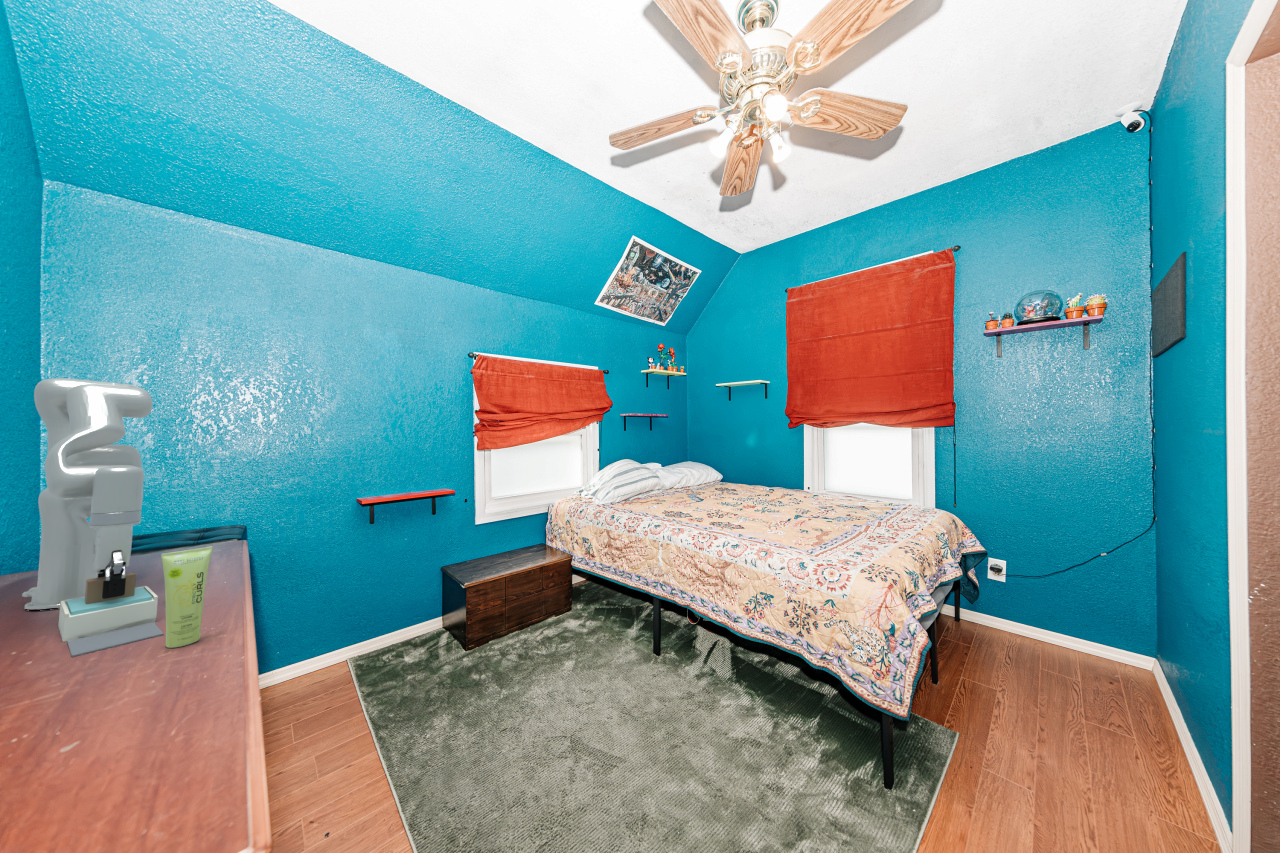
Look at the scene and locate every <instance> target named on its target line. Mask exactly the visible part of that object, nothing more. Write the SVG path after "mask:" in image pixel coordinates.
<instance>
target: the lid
mask: <svg viewBox="0 0 1280 853" xmlns="http://www.w3.org/2000/svg"><path fill="white" fill-rule="evenodd" d="M136 574H137V573H135V572H134V571H133V572H128V573H127V572H125V577H126V584H125V594H124V595H123V596H118V597H113V598H107V599H103V598H102V591H103V581H105V577H100V578H98V577H97V578H94V579H87V580H86V590H85V598H79V599H74V600H68V601H67V603H66V605H67V607H68V610H69V612H70V615H71V616H73V615H78V614H83V613H88V612H93V611H98V610H104V609H109V608H114V607H119V606H124V605H129V604H135V603H140V602H145V601H150V600H152V596H151V595H150V594H149V593H148V592H147V591H146V590H145V589H144V588H143V586H141V587H142V588H137V587H136V579H137V575H136ZM135 588H137V589H135Z"/></svg>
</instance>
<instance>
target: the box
mask: <svg viewBox="0 0 1280 853" xmlns="http://www.w3.org/2000/svg"><path fill="white" fill-rule="evenodd" d="M142 587H143V588H144V589H145V590H146V591H147V592H148V593H149V594H150V595H151V596H152V600H150V601H145V602H140V603H135V604H129V605H124V606H119V607H114V608H109V609H104V610H98V611H93V612H88V613H83V614H78V615H73V616H71V615H70V612H69V610H68V607H67V605H66V603H67V601H68V600H74V599H79V598H74V599H68V600H63V601H60V608H59V614H58V624H57V625H58V626H57V627H58V631H59V633H60V634H59V635H60V636H61V640H62V643H67V641H71V640H75V639H80V638H84V637H89V636H93V635H98V634H102V633H107V632H111V631H116V630H120V629H125V628H129V627H134V626H138V625H143V624H147V623H152V622H154V623H156V622H157V617H158V616H157V615H158V603H159V601H158V600H159V596H158V595H157V594H156V593H155V592H154V591H153V590H152V589H151V588H150V587H149V586H147V585H142V586H138V587H135V589H137V588H142ZM80 598H85V597H80Z"/></svg>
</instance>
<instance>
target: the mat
mask: <svg viewBox="0 0 1280 853" xmlns="http://www.w3.org/2000/svg"><path fill="white" fill-rule="evenodd" d="M163 635H165V634H164V632H163V631H162V629H160V627H159V626H158V625H157V624H156V622H152V623H147V624H143V625H138V626H134V627H129V628H125V629H120V630H116V631H111V632H107V633H102V634H98V635H93V636H89V637H84V638H80V639H75V640H71V641H67V642H66V643H67V647H68V650H69V652H70V653H69V654H70V656H71V657H72V658H73V657H78V656H82V655H86V654H90V653H94V652H99V651H104V650H106V649H110V648H114V647H118V646H119V647H120V646H123V645H128V644H130V643H135V641H136V642H140V641H144V639H145V640H147V639H152V638H156V637H159V636H160V637H161V636H163ZM139 640H140V641H139Z"/></svg>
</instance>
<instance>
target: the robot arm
mask: <svg viewBox="0 0 1280 853" xmlns="http://www.w3.org/2000/svg"><path fill="white" fill-rule="evenodd" d="M33 392H34V393H33V397H34V398H33V399H34V404H35V408H36V411H37V412H38V415H39V417H40V418H41V421H42V422H43V423H44V425H45V428H46V431H47V432H46V433H47V455H46V457H45V462H44V472H45V473H44V474H45V481H46V482H45V483H46V486H47V487H46V488H44V489H43V490H42V491H41V492H40V493H39V494H38V495H39V496H38V501H37V502H38V510H39V516H40V523H41V524H40V525H41V526H40V527H41V529H40V530H41V533H40V550H39V561H38V562H39V563H38V571H37V584H36V586H34V587H31V588H29V589H28V591H23V593H21V597H22V598H28V597H29V598H31V601H30V602H27V603H26V604H24V610H25V609H46V608H55V607H60V601H63V600H68V599H74V598H80V597H85V590H86V580H87V579H94V578H100V577H105V581H103V591H102V598H103V599H107V598H113V597H118V596H123V595H124V594H125V584H126V577H125V574H126V569H127V567H128V568H129V566H130V559H131V553H132V542H133V532H134V531H133V527H134V526H135V525H139V524H141V519H142V518H141V517H142V506H143V505H142V504H143V501H144V480H145V473H144V470H143V468H142V458H141V457H142V456H141V453H140V451H139V450H138V449H137V448H136V447H134V446H133V445H132V446H131V445H128V444H115V443H117V442H119V441H121V440H122V439H123V438H124V437H125V435H126V428H125V425H124V423H125V422H124V420H123V418H136V419H141V418H146V417H148V416H149V415H150V414H151V412H152V411H153V399H152V395H150V393H149V392H148V391H147V390H146V389H144V388H142V387H139V386H137V385H134V384H128V383H119V382H109V381H101V380H100V381H99V380H89V379H80V378H79V379H78V378H67V377H66V378H64V377H63V378H62V377H61V378H60V377H58V378H57V377H56V378H47V379H44V380H41V381H39V382H38V383H37V384H36V385H35V388H34V391H33ZM88 518H89V520H88Z"/></svg>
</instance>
